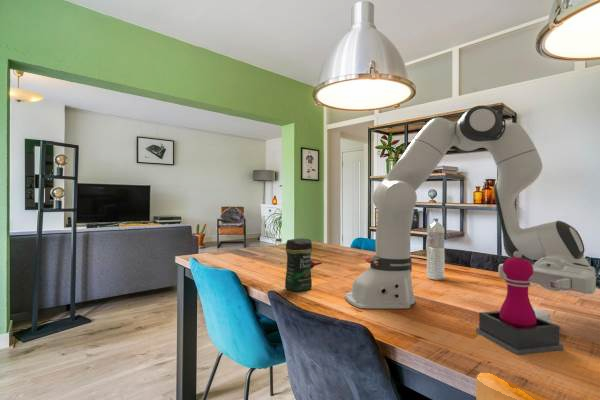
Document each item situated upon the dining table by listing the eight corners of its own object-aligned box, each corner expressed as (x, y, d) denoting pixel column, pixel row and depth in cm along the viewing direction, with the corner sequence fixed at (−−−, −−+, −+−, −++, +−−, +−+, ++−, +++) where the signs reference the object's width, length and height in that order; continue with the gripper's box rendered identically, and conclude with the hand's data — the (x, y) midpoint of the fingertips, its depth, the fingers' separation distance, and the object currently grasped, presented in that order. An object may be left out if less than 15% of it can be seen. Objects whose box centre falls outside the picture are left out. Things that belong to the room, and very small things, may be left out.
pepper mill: (527, 345, 70) (527, 254, 70) (493, 333, 77) (493, 250, 76) (542, 338, 74) (542, 252, 74) (508, 327, 80) (509, 247, 80)
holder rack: (517, 354, 68) (517, 331, 68) (476, 331, 80) (476, 311, 80) (563, 349, 71) (563, 327, 71) (516, 328, 82) (516, 308, 82)
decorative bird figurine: (294, 270, 148) (294, 248, 148) (324, 276, 136) (324, 253, 136) (289, 271, 146) (289, 249, 146) (320, 278, 134) (320, 254, 134)
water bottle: (446, 280, 130) (446, 219, 130) (428, 280, 131) (429, 219, 131) (441, 276, 136) (442, 218, 136) (425, 276, 138) (425, 218, 137)
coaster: (497, 320, 89) (497, 307, 89) (519, 314, 93) (519, 302, 93) (536, 334, 79) (536, 319, 79) (559, 327, 84) (559, 313, 84)
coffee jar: (294, 293, 112) (294, 240, 112) (281, 288, 118) (281, 238, 118) (315, 289, 118) (315, 238, 118) (302, 284, 124) (302, 236, 124)
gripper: (511, 255, 95) (487, 260, 88) (603, 268, 78) (583, 275, 71) (511, 276, 95) (487, 283, 88) (603, 293, 78) (583, 304, 71)
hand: (531, 280), depth 79 cm, fingers open, 8 cm apart
